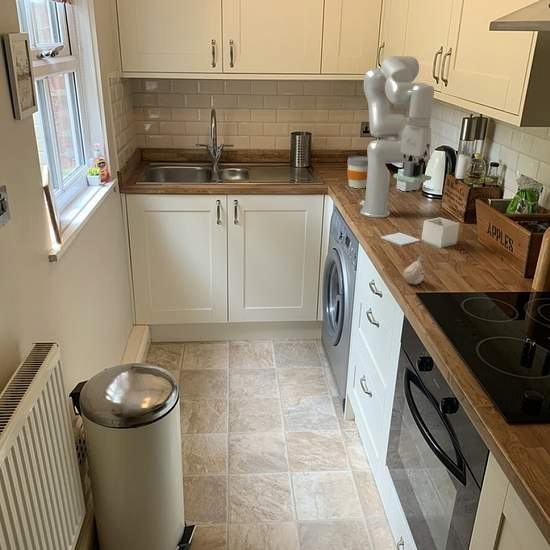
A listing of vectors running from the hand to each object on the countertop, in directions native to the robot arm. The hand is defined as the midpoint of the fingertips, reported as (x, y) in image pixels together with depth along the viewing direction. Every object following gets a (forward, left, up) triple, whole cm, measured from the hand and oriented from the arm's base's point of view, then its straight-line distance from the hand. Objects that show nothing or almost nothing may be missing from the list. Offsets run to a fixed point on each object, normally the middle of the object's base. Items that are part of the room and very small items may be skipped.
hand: (412, 174), depth 201 cm
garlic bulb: (+31, -30, -25) cm, 49 cm away
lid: (0, 0, -2) cm, 2 cm away
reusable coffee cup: (-73, +43, -25) cm, 88 cm away
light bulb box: (-55, +62, -25) cm, 87 cm away
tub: (+9, +9, -25) cm, 28 cm away
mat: (-1, -1, -25) cm, 25 cm away
